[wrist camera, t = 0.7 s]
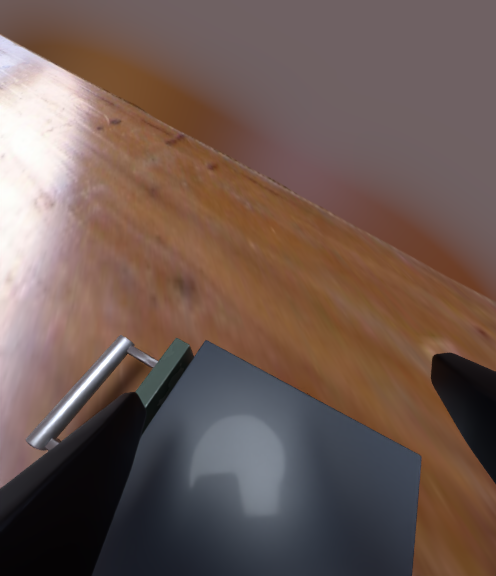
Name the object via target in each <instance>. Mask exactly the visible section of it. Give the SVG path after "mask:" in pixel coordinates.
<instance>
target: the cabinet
mask: <svg viewBox="0 0 496 576" xmlns="http://www.w3.org/2000/svg"><path fill="white" fill-rule="evenodd" d="M420 470H421V456H420V455H419V454H417V453H415V452H413V451H411V450H409V449H408V448H406V447H404V446H402V445H400V444H398V443H396V442H395V441H393V440H391V439H389V438H387V437H385V436H383V435H382V434H380V433H378V432H376V431H374V430H372V429H370V428H369V427H367V426H365V425H363V424H361V423H359V422H357V421H356V420H354V419H352V418H350V417H348V416H346V415H344V414H343V413H341V412H339V411H337V410H335V409H333V408H331V407H330V406H328V405H326V404H324V403H322V402H320V401H318V400H317V399H315V398H313V397H311V396H309V395H307V394H305V393H304V392H302V391H300V390H298V389H296V388H294V387H292V386H291V385H289V384H287V383H285V382H283V381H281V380H279V379H278V378H276V377H274V376H272V375H270V374H268V373H266V372H265V371H263V370H261V369H259V368H257V367H255V366H253V365H252V364H250V363H248V362H246V361H244V360H242V359H240V358H239V357H237V356H235V355H233V354H231V353H229V352H227V351H226V350H224V349H222V348H220V347H218V346H216V345H215V344H213V343H211V342H209V341H207V340H206V341H205V342H204V343H203V345H202V346H201V348H200V349H199V351H198V352H197V354H196V355H195V357H194V358H193V360H192V361H191V363H190V364H189V365H188V367H187V368H186V370H185V371H184V373H183V374H182V376H181V377H180V379H179V380H178V382H177V383H176V385H175V386H174V388H173V389H172V391H171V392H170V394H169V395H168V397H167V398H166V400H165V401H164V403H163V404H162V406H161V407H160V409H159V410H158V412H157V413H156V415H155V416H154V418H153V419H152V420H151V422H150V423H149V425H148V426H147V428H146V429H145V431H144V432H143V434H142V435H141V437H140V441H139V444H138V448H137V452H136V455H135V459H134V462H133V465H132V468H131V471H130V474H129V477H128V480H127V482H126V485H125V488H124V491H123V493H122V496H121V499H120V501H119V504H118V507H117V509H116V512H115V515H114V517H113V520H112V523H111V525H110V528H109V531H108V534H107V536H106V539H105V542H104V544H103V547H102V550H101V552H100V555H99V558H98V560H97V563H96V566H95V568H94V571H93V574H92V576H412V568H413V555H414V543H415V531H416V519H417V507H418V494H419V482H420Z"/></svg>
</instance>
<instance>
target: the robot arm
mask: <svg viewBox="0 0 496 576" xmlns="http://www.w3.org/2000/svg"><path fill="white" fill-rule="evenodd" d="M431 380H432V384H433V386H434V388H435V389H436V391H437V393H438V395H439V396H440V398H441V400H442V402H443V403H444V405H445V407H446V408H447V410H448V412H449V414H450V415H451V417H452V419H453V420H454V422H455V424H456V426H457V427H458V429H459V431H460V433H461V434H462V436H463V437H464V439H465V441H466V442H467V444H468V445H469V447H470V448H471V450H472V451H473V453H474V454H475V456H476V457H477V458H478V460H479V461H480V463H481V464H482V465H483V467H484V468H485V470H486V471H487V472H488V474H489V475H490V477H491V478H492V479H493V481H494V482H495V484H496V372H495V371H493V370H491V369H488V368H486V367H484V366H481V365H479V364H477V363H474V362H472V361H470V360H467V359H465V358H463V357H461V356H458V355H456V354H453V353H442V354H436V355H434V356H433V358H432V370H431ZM145 419H146V409H145V407H144V405H143V403H142V401H141V399H140V397H139V395H138V394H137V393H136V392H130V393H124V394H122V395H120V396H119V397H118V398H117V399H115V400H114V401H113V402H111V403H110V404H109V405H108V406H106V407H105V408H104V409H102V410H101V411H100V412H99V413H97V414H96V415H95V416H93V417H92V418H91V419H90V420H88V421H87V422H86V423H84V424H83V425H82V426H81V427H79V428H78V429H77V430H75V431H74V432H73V433H71V434H70V435H69V436H68V437H66V438H65V439H64V440H62V441H61V442H60V443H59V444H57V445H56V446H55V447H53V448H52V449H51V450H50V451H48V452H47V453H46V454H44V455H43V456H42V457H41V458H39V459H38V460H37V461H35V462H34V463H33V464H32V465H30V466H29V467H28V468H26V469H25V470H24V471H23V472H21V473H20V474H19V475H17V476H16V477H15V478H14V479H12V480H11V481H10V482H8V483H7V484H6V485H5V486H3V487H2V488H1V489H0V576H92V574H93V571H94V568H95V566H96V563H97V560H98V558H99V555H100V552H101V550H102V547H103V544H104V542H105V539H106V536H107V534H108V531H109V528H110V525H111V523H112V520H113V517H114V515H115V512H116V509H117V507H118V504H119V501H120V499H121V496H122V493H123V491H124V488H125V485H126V482H127V480H128V477H129V474H130V471H131V468H132V465H133V462H134V459H135V455H136V452H137V448H138V444H139V441H140V437H141V434H142V430H143V427H144V423H145Z"/></svg>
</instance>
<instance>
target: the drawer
mask: <svg viewBox="0 0 496 576" xmlns="http://www.w3.org/2000/svg"><path fill="white" fill-rule="evenodd" d="M134 346H135V345H134V344H133V343H132V342H131V341H130V340H129V339H127V338H126V337H124V336H122V335H120V336H119V337H118V338H117V339H116V340H115V341H114V342H113V344H112V345H111V346H110V347H109V348H108V349H107V350H106V351H105V352H104V353H103V355H102V356H101V357H100V358H99V359H98V360H97V361H96V362H95V363H94V364H93V366H92V367H91V368H90V369H89V370H88V371H87V372H86V373H85V374H84V375H83V377H82V378H81V379H80V380H79V381H78V382H77V383H76V384H75V385H74V386H73V388H72V389H71V390H70V391H69V392H68V393H67V394H66V395H65V396H64V397H63V399H62V400H61V401H60V402H59V403H58V404H57V405H56V406H55V407H54V408H53V410H52V411H51V412H50V413H49V414H48V415H47V416H46V417H45V418H44V419H43V421H42V422H41V423H40V424H39V425H38V426H37V427H36V428H35V429H34V430H33V432H32V433H31V434H30V435H29V436H28V437H27V438H26V441H27V443H28V444H29V445H31V446H32V447H34V448H36V449H39V450H48V451H50V450H51V449H52V448H53V447H55V446H56V445H57V444H59V443H60V442H61V441H60V440H59V439H57V437H58V436H59V435H60V433H61V432H62V431H63V430H64V429H65V427H66V426H67V425H68V424H69V423H70V422H71V420H72V419H73V418H74V417H75V416H76V414H77V413H78V412H79V411H80V410H81V409H82V407H83V406H84V405H85V404H86V403H87V401H88V400H89V399H90V398H91V397H92V396H93V394H94V393H95V392H96V391H97V390H98V388H99V387H100V386H101V385H102V384H103V383H104V381H105V380H106V379H107V378H108V377H109V375H110V374H111V373H112V372H113V371H114V370H115V368H116V367H117V366H118V365H119V364H120V362H121V361H122V360H123V359H124V358H125V356H126V355H127V354H129V355H131V356H133V357H134V358H136V359H138V360H139V361H141V362H143V363H144V364H146V365H147V366H149V367H151V368H152V370H151V372H150V373H149V374H148V376H147V377H146V378H145V380H144V381H143V382H142V384H141V385H140V386H139V388H138V389H137V390H136V393H137V394H138V395H139V397H140V399H141V401H142V403H143V405H144V407H145V409H146V419H145V423H144V427H143V430H142V434H143V432H144V431H145V429H146V428H147V426H148V425H149V423H150V422H151V420H152V419H153V418H154V416H155V415H156V413H157V412H158V410H159V409H160V407H161V406H162V404H163V403H164V401H165V400H166V398H167V397H168V395H169V394H170V392H171V391H172V389H173V388H174V386H175V385H176V383H177V382H178V380H179V379H180V377H181V376H182V374H183V373H184V371H185V370H186V368H187V367H188V365H189V364H190V363H191V361H192V360H193V358H194V356H193V353H192V350H191V347H190V345H189V344H187V343H185V342H183V341H182V340H180V339H178V338H176V339H175V340H174V341H173V343H172V344H171V345H170V347H169V348H168V349H167V351H166V352H165V353H164V355H163V356H162V357H161V359H160V360H159V361H157V360H156V359H154V358H152V357H151V356H149V355H147V354H146V353H144V352H142V351H141V350H139V349H137V348H135V347H134ZM142 434H141V435H142Z"/></svg>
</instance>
